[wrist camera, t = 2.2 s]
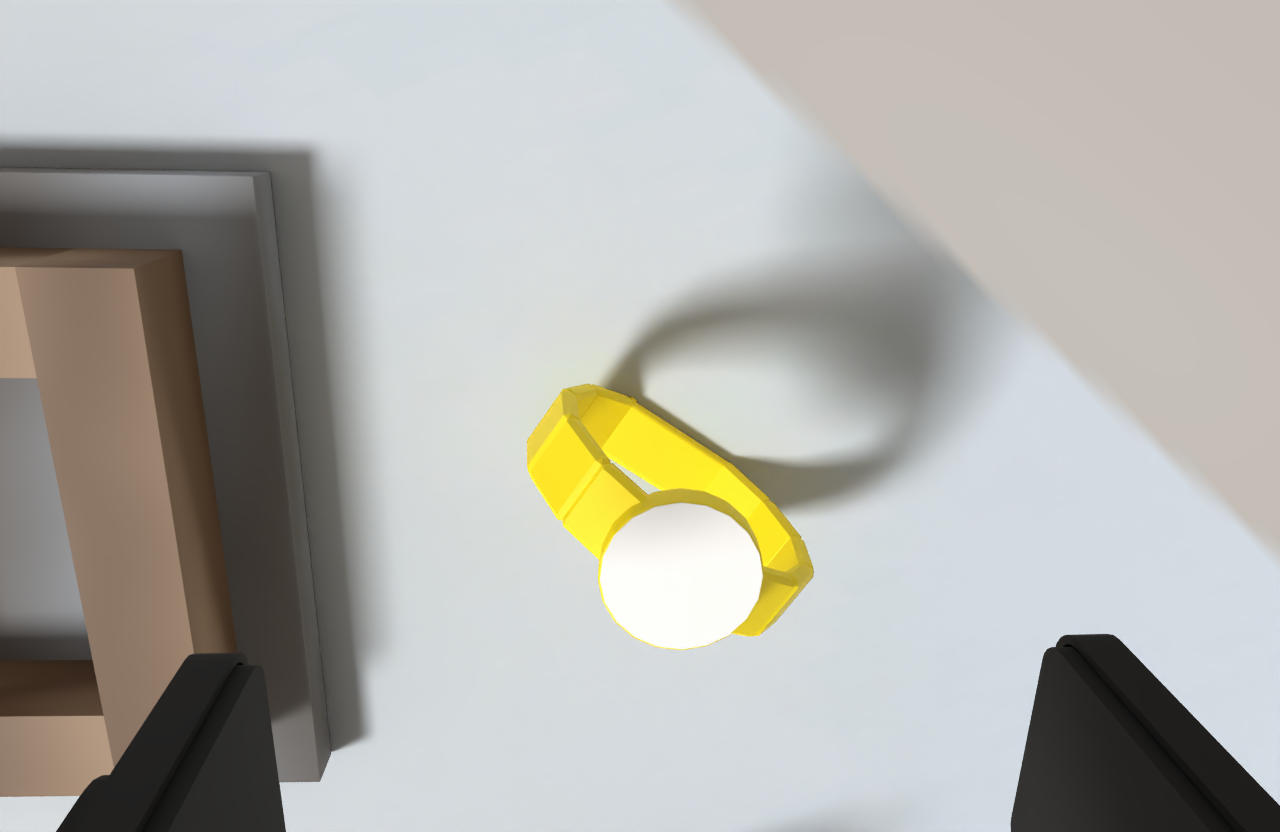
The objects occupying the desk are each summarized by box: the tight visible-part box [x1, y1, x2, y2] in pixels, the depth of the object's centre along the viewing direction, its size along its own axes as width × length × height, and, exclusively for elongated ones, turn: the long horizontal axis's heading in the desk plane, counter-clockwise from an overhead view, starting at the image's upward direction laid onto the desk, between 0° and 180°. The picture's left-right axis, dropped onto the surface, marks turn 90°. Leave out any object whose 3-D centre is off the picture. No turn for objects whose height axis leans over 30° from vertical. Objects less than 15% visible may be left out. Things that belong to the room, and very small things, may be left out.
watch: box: [527, 384, 814, 650], centre depth 18 cm, size 6×3×6 cm, turn 55°
